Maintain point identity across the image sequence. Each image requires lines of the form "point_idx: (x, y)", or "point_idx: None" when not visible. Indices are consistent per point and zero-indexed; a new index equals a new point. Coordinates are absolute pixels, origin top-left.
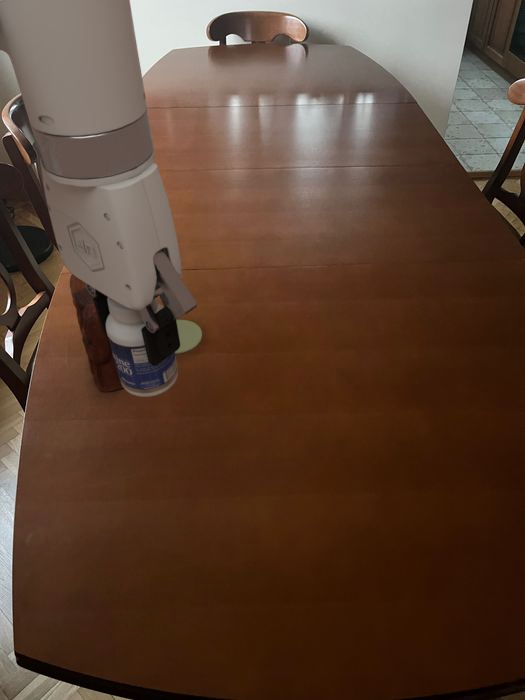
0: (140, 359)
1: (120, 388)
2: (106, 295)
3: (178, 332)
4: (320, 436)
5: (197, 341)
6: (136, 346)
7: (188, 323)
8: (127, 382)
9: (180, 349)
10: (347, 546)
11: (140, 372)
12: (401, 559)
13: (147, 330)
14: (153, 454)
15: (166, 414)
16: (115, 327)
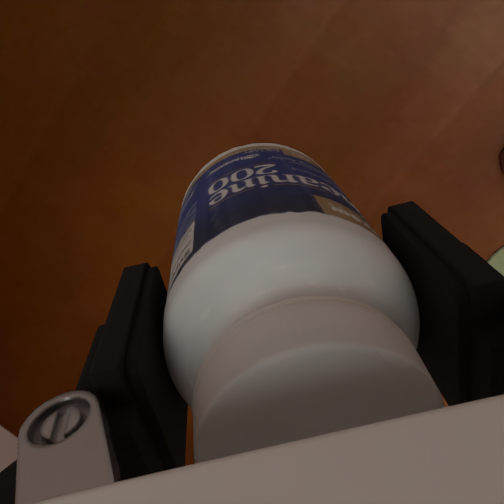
0: (179, 247)
1: (502, 151)
2: (208, 463)
3: None
4: None
5: None
6: (178, 275)
7: None
8: (232, 160)
9: (492, 266)
10: (63, 261)
11: (189, 213)
12: (15, 299)
13: (93, 385)
14: (353, 129)
15: (403, 184)
16: (285, 267)
